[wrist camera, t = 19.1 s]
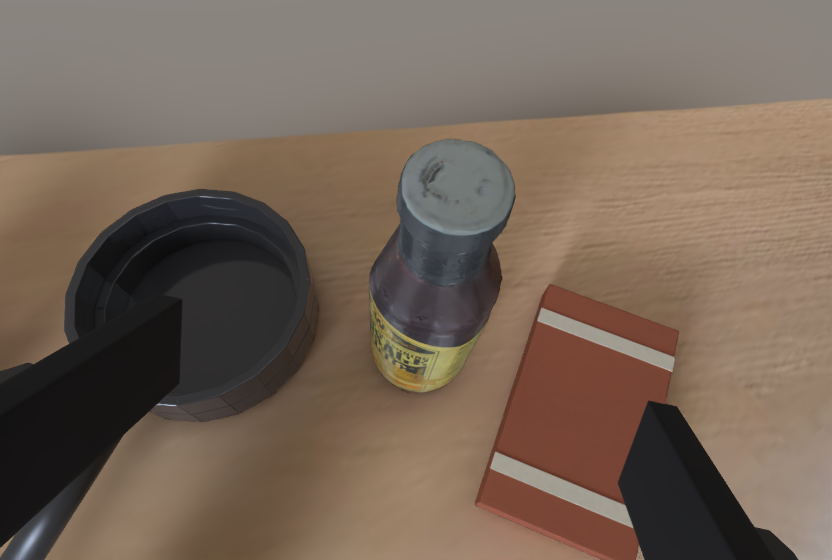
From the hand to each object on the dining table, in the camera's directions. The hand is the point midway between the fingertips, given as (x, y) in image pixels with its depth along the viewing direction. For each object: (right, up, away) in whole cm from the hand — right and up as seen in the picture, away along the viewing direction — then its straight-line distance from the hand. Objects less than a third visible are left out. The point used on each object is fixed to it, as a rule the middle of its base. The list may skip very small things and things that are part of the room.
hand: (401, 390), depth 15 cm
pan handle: (-18, -8, +14) cm, 24 cm away
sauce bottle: (+1, -2, +21) cm, 21 cm away
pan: (-13, 0, +22) cm, 25 cm away
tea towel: (+11, -6, +20) cm, 23 cm away
